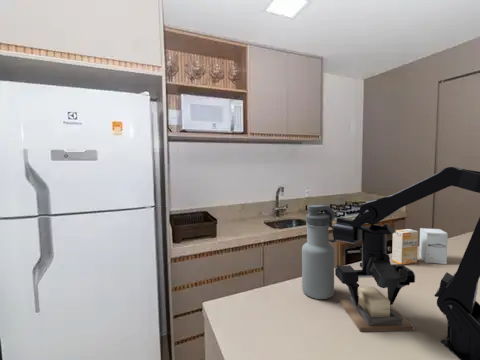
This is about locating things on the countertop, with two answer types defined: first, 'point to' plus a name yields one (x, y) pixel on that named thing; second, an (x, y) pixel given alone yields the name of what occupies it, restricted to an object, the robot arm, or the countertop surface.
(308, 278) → the water bottle
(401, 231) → the supplement box
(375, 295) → the maple block
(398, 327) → the nest board
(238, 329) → the countertop surface
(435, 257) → the supplement box
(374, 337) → the countertop surface
